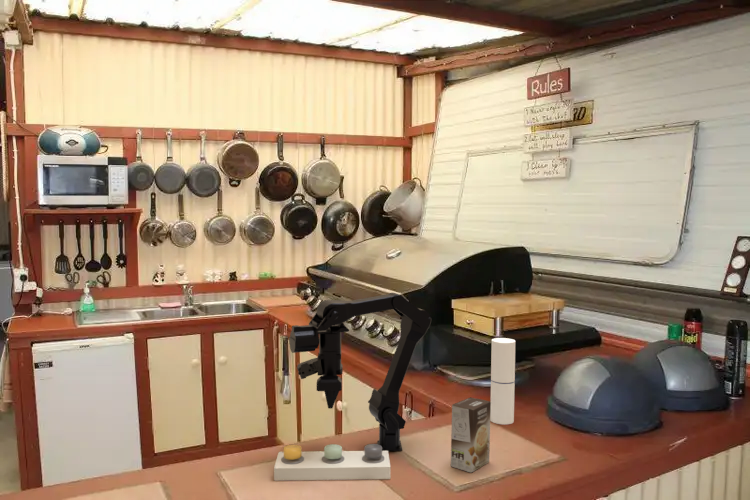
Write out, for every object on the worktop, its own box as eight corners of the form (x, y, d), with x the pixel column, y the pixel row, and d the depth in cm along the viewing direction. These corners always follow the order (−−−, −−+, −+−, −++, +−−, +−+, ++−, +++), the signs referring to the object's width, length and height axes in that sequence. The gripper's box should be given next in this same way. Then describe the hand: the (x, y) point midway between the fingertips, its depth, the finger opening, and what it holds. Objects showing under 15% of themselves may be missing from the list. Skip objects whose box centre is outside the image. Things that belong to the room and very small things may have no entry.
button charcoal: (364, 453, 156) (364, 443, 156) (381, 453, 157) (381, 443, 156) (364, 460, 152) (364, 450, 152) (382, 460, 152) (382, 450, 152)
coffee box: (472, 473, 153) (473, 410, 152) (450, 466, 157) (450, 404, 156) (490, 462, 160) (491, 401, 159) (468, 455, 164) (469, 396, 163)
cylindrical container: (487, 422, 190) (488, 341, 188) (494, 415, 196) (495, 337, 194) (510, 425, 186) (511, 343, 184) (516, 418, 193) (518, 339, 191)
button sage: (324, 453, 156) (324, 444, 156) (342, 453, 156) (342, 444, 156) (323, 460, 152) (323, 451, 151) (341, 460, 152) (341, 451, 152)
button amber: (284, 454, 156) (284, 444, 155) (302, 453, 156) (302, 444, 156) (282, 461, 151) (282, 451, 151) (300, 461, 151) (300, 451, 151)
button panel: (278, 463, 159) (278, 451, 158) (388, 461, 160) (388, 449, 159) (274, 480, 149) (273, 467, 148) (390, 479, 150) (390, 466, 150)
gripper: (301, 341, 170) (302, 397, 171) (295, 358, 151) (296, 420, 153) (342, 341, 170) (342, 397, 172) (341, 358, 152) (341, 420, 153)
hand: (330, 408), depth 162 cm, fingers closed
